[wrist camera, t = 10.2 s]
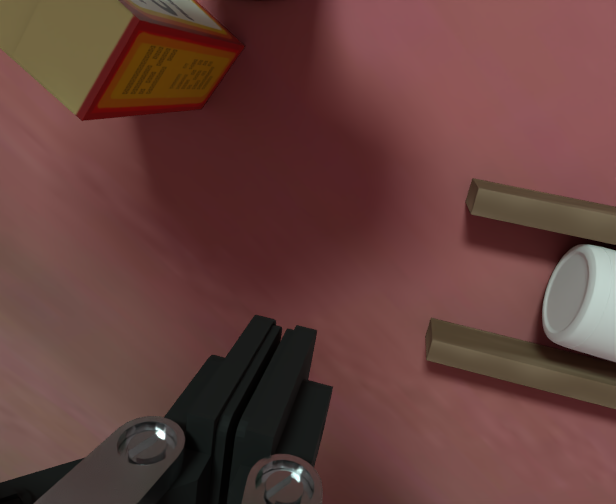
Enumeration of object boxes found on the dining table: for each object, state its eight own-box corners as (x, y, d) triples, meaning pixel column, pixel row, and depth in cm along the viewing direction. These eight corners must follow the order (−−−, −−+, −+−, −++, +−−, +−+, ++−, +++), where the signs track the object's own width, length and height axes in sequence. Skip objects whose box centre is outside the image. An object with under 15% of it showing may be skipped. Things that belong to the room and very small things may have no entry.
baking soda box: (117, 33, 39) (-60, -1, 25) (156, -36, 37) (-15, -119, 22) (201, 109, 40) (77, 121, 25) (245, 46, 38) (135, 18, 23)
